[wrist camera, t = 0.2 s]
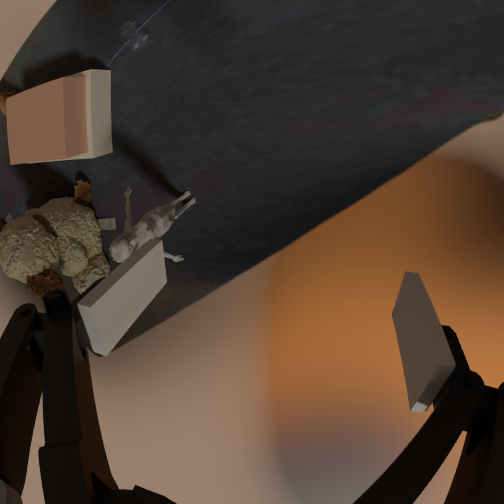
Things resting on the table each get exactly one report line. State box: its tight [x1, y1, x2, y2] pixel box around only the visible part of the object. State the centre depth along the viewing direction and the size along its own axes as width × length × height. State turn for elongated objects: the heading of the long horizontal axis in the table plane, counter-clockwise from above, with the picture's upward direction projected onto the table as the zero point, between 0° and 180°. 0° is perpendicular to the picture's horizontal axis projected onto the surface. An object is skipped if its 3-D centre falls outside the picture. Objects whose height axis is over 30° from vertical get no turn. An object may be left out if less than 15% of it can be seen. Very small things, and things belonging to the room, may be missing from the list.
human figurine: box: [109, 187, 196, 263], centre depth 38 cm, size 12×4×18 cm, turn 36°
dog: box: [0, 179, 116, 299], centre depth 44 cm, size 23×19×20 cm
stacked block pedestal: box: [6, 69, 113, 165], centre depth 39 cm, size 14×18×10 cm
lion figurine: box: [0, 90, 15, 116], centre depth 40 cm, size 15×5×9 cm, turn 72°
